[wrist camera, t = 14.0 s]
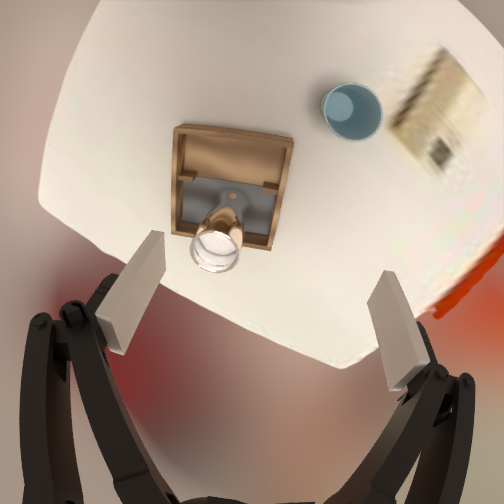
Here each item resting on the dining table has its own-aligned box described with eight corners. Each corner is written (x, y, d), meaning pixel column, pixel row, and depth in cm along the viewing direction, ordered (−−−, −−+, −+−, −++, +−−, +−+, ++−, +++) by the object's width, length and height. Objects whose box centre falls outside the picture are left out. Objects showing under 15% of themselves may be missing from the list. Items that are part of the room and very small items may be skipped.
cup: (304, 114, 38) (312, 122, 29) (326, 75, 34) (341, 71, 25) (345, 137, 39) (364, 152, 31) (367, 99, 35) (392, 104, 26)
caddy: (183, 124, 40) (173, 128, 37) (292, 138, 40) (293, 143, 37) (179, 222, 51) (171, 234, 47) (271, 237, 51) (270, 251, 48)
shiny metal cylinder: (206, 211, 49) (181, 260, 36) (222, 179, 45) (198, 220, 32) (241, 228, 50) (227, 281, 38) (258, 197, 46) (250, 244, 34)
